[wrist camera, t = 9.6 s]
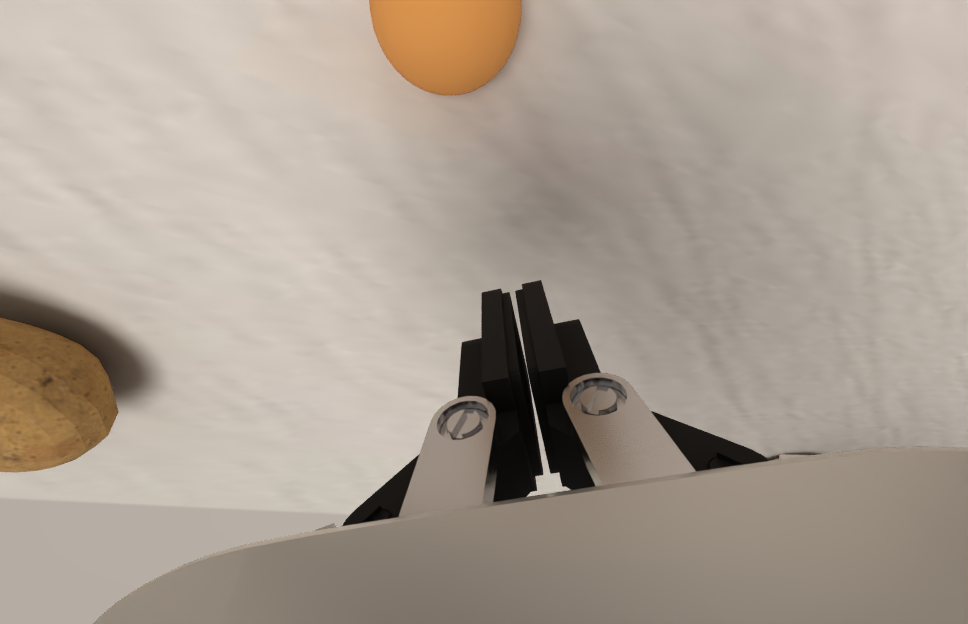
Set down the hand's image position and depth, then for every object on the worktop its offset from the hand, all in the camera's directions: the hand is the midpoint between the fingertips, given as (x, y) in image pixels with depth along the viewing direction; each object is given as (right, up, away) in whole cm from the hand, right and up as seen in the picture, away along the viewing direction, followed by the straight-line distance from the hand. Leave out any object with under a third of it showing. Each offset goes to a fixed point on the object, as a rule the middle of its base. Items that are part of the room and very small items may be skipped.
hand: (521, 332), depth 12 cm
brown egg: (-3, +13, +5) cm, 14 cm away
